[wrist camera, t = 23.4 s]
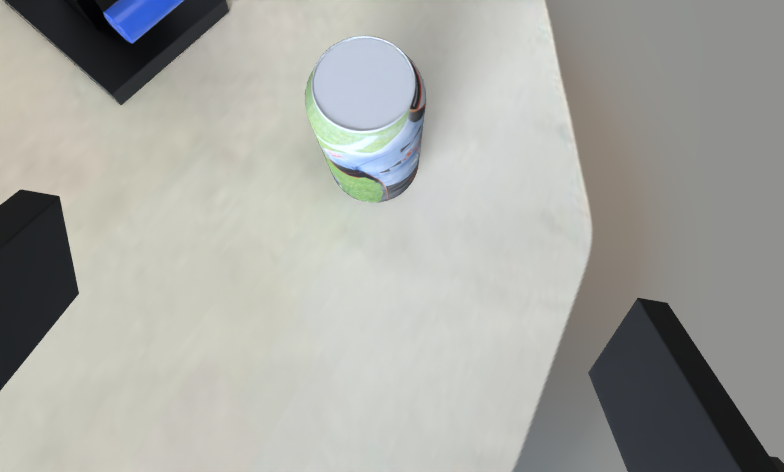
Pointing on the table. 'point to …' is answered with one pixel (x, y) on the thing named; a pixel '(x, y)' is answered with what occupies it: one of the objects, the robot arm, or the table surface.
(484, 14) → the table surface
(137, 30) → the lever
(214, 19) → the bracket
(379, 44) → the beverage can
